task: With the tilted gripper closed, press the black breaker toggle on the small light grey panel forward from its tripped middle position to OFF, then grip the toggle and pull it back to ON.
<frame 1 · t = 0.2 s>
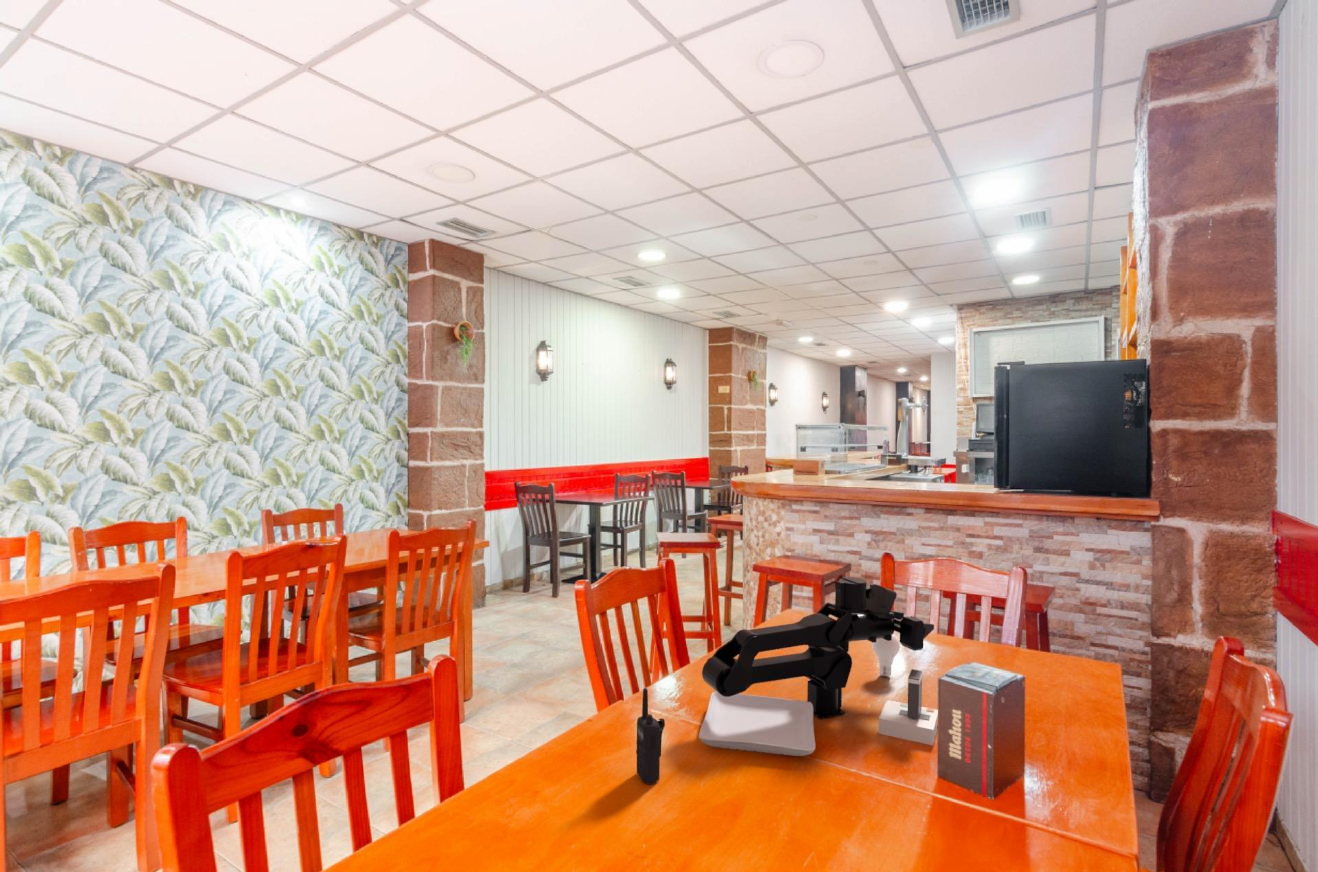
hand: (917, 620, 151), 17 cm above the table, tool horizontal, fingers open, 9 cm apart
two-way radio: (651, 778, 114), on the table
breaker toggle: (914, 693, 133), point 7 cm above the table, slide at 0.0 cm
lightbulb: (885, 677, 161), on the table
salad plate: (758, 735, 131), on the table
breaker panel: (908, 728, 134), on the table
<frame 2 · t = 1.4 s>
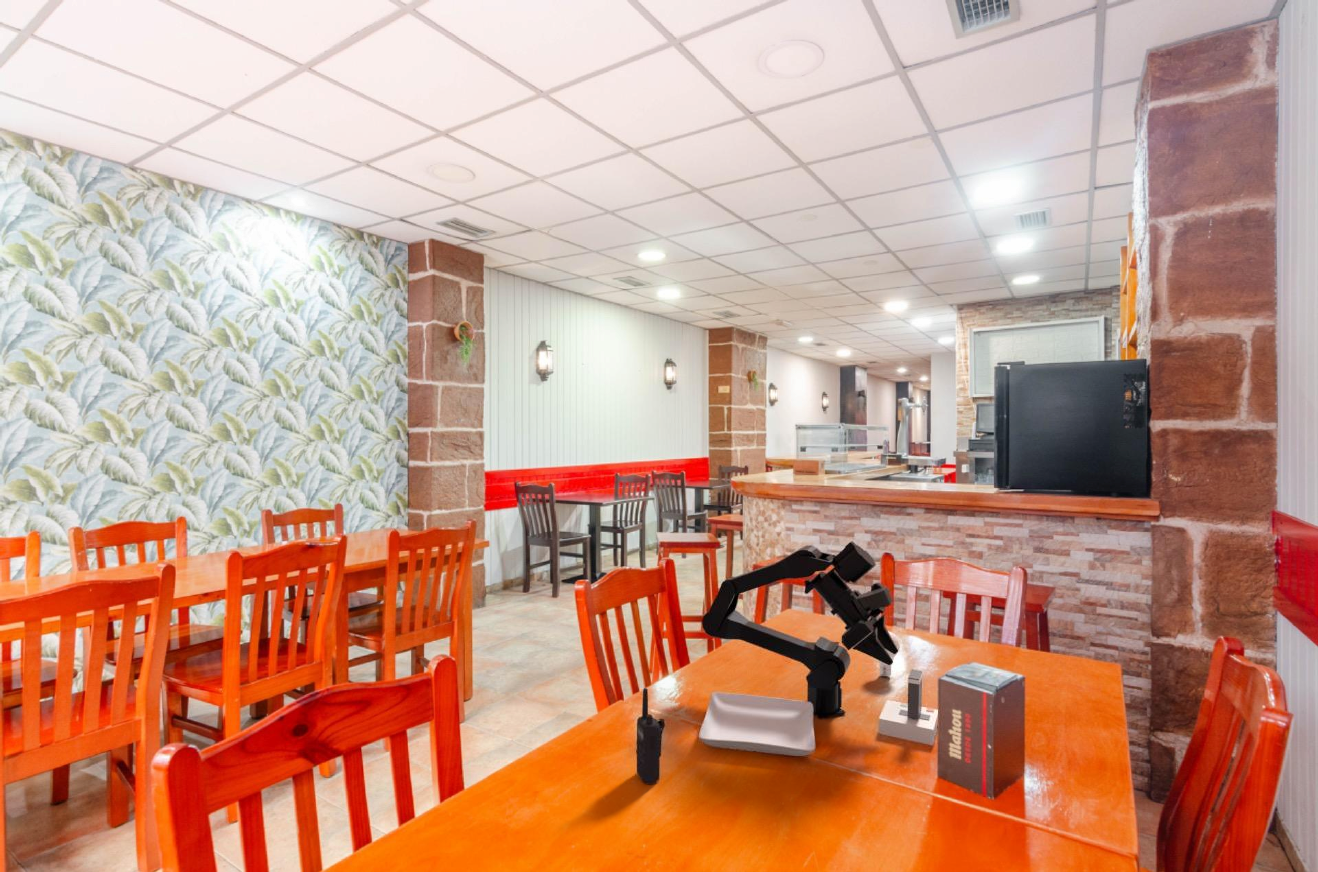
hand: (894, 658, 135), 14 cm above the table, tool tilted 45°, fingers open, 7 cm apart
nothing on the table moved.
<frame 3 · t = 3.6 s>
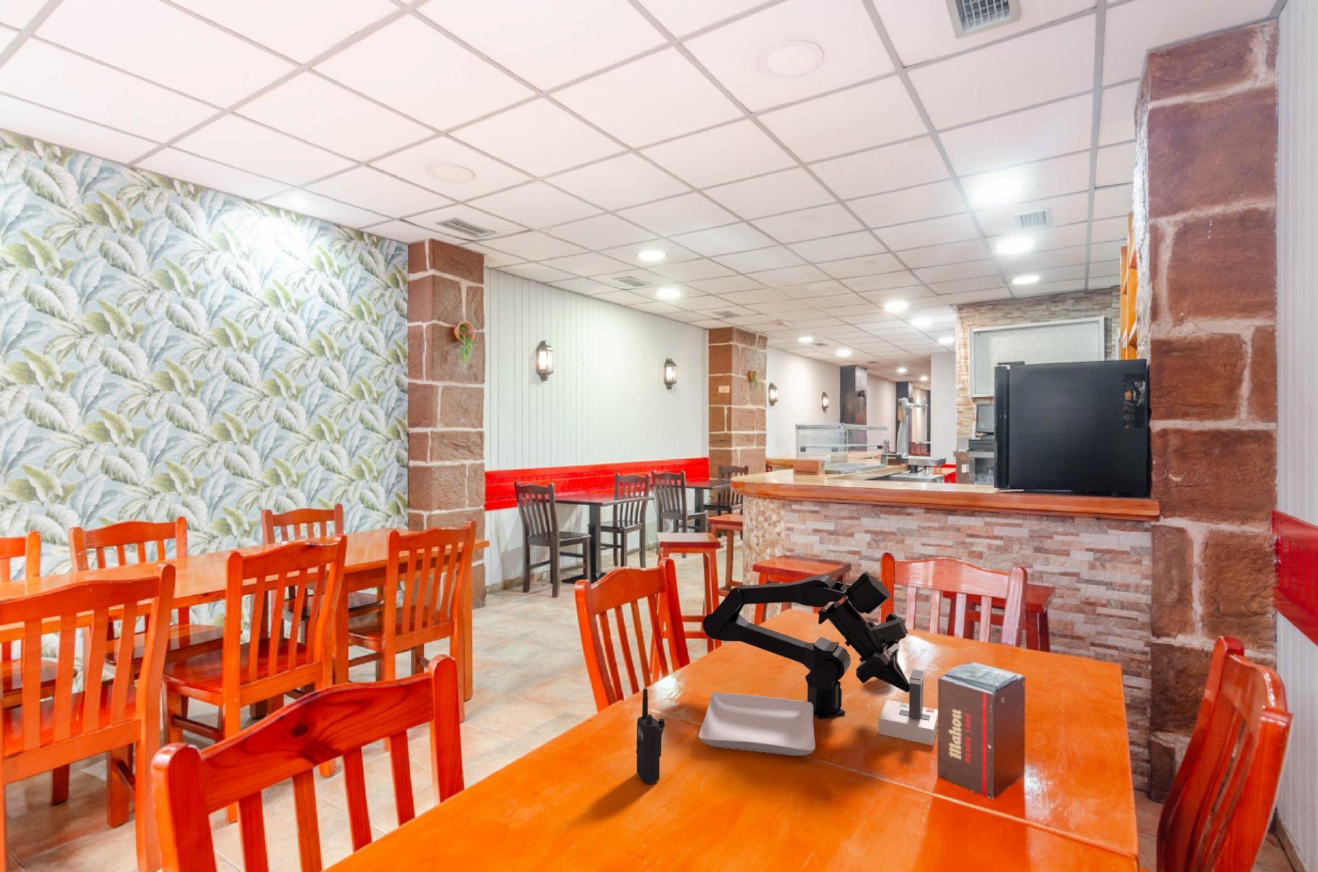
hand: (909, 690, 133), 8 cm above the table, tool tilted 45°, fingers closed, pressing on breaker toggle
breaker toggle: (916, 693, 133), point 7 cm above the table, slide at 0.3 cm, touching gripper
everything else where it was.
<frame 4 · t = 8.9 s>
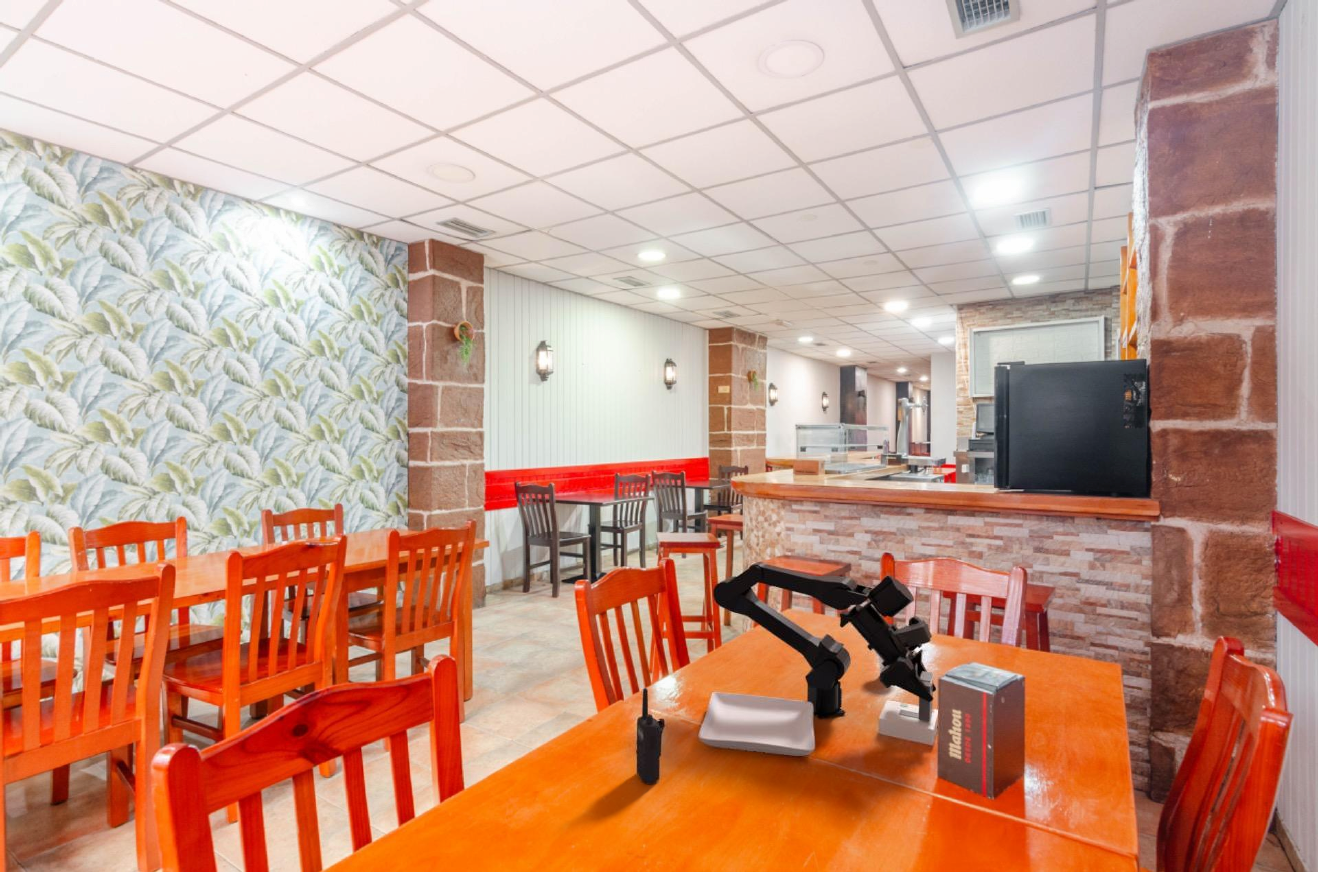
hand: (933, 695, 131), 8 cm above the table, tool tilted 45°, fingers closed on breaker toggle, 5 cm apart
breaker toggle: (925, 695, 132), point 7 cm above the table, slide at 2.0 cm, touching gripper
everything else where it was.
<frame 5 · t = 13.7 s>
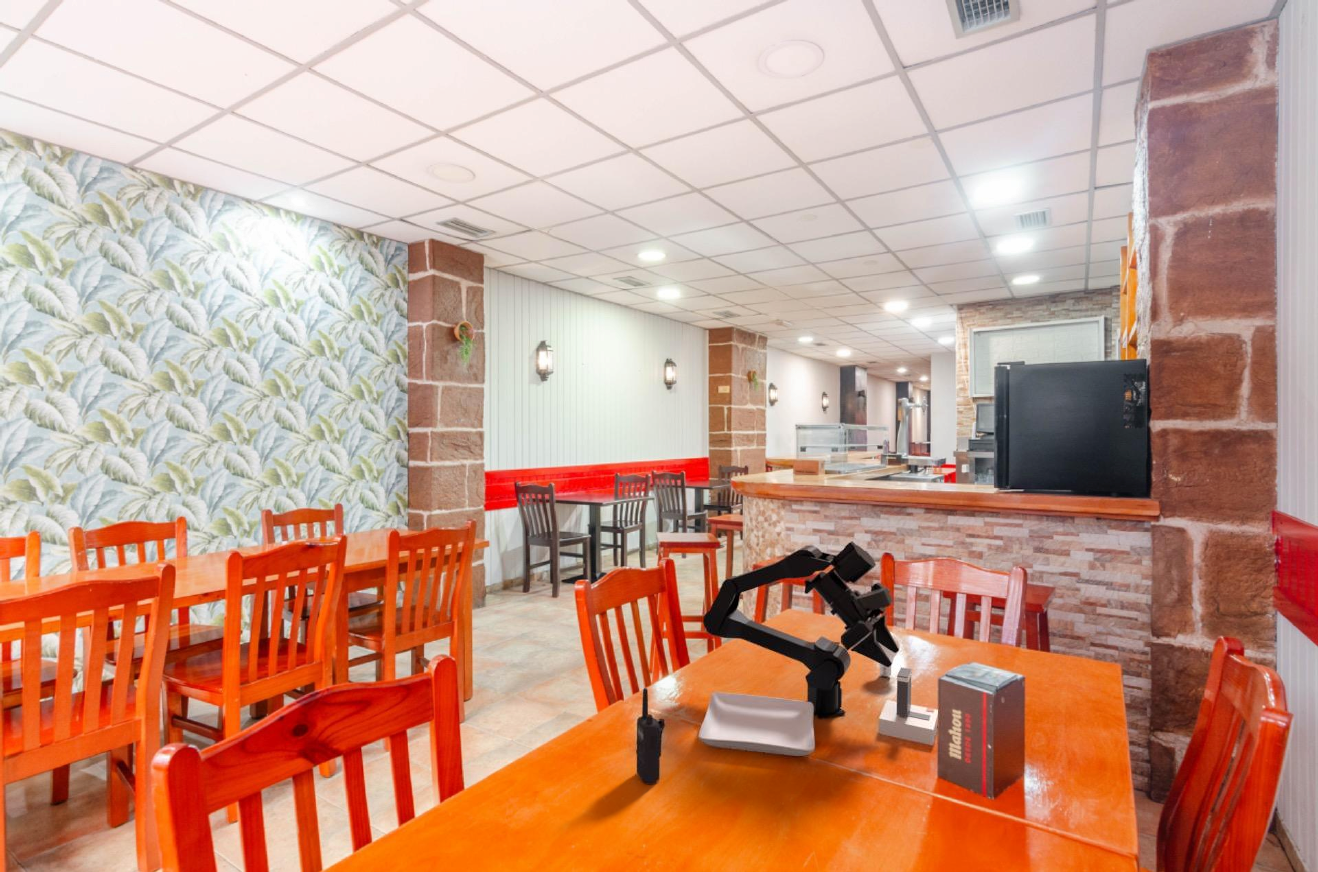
hand: (893, 658, 135), 14 cm above the table, tool tilted 45°, fingers open, 9 cm apart
breaker toggle: (904, 691, 134), point 7 cm above the table, slide at -2.0 cm
everything else where it was.
at the end: breaker toggle slide at -2.0 cm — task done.
